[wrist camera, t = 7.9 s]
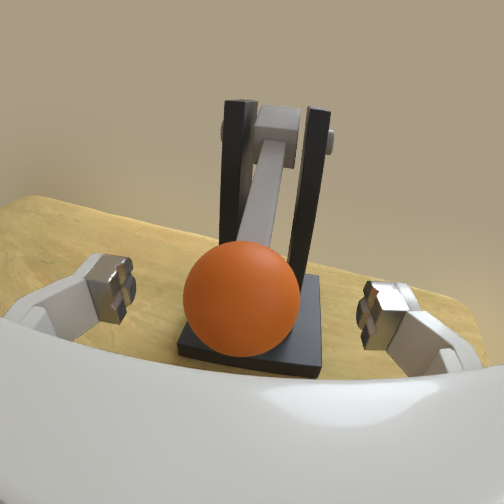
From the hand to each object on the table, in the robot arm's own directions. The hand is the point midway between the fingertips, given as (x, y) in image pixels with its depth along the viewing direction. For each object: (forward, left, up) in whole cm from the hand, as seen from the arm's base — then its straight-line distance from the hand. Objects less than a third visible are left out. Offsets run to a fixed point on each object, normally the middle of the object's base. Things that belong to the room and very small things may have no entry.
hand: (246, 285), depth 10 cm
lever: (0, -4, 0) cm, 4 cm away
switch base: (0, -9, -9) cm, 12 cm away
